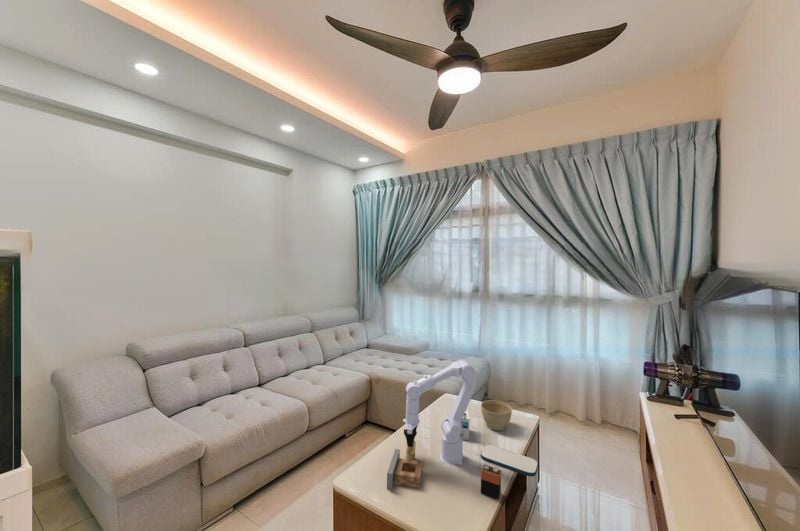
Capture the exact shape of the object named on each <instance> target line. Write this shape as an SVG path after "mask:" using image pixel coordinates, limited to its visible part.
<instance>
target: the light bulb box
mask: <svg viewBox="0 0 800 531" xmlns="http://www.w3.org/2000/svg"><path fill="white" fill-rule="evenodd" d="M470 420H471V419H470V410H469V409H466V411H465V413H464V416H463V418H462V420H461V431H460V439H461V440H465V441H470Z"/></svg>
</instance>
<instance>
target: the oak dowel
mask: <svg viewBox="0 0 800 531" xmlns="http://www.w3.org/2000/svg"><path fill="white" fill-rule="evenodd" d="M405 447H406V451H405V452H406V453H405V459H408V460H415V461H416V440H414V443H413V447H408V445H407V444H406V446H405Z"/></svg>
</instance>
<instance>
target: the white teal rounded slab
mask: <svg viewBox="0 0 800 531" xmlns="http://www.w3.org/2000/svg"><path fill="white" fill-rule="evenodd" d="M480 458H481V459H482V460H483V461H484V462H487V463H490V464H492V463H493V465H495V464H496V465H495V466H498V465H499V466H498V467H501V466H502V467H501V468H504V469H506V468H507V470H509V469H510V470H509V471H512V472H516V473H518V474H519V475H520V474H521V475H523V476H525V477H531V478H532V477H535V476H536V475H537V472H538V468H539V463H538V461H537V460H535V459H534V458H532V457H529V456H526V455H523V454H520V453H517V452H513V451H511V450H507V449H504V448H501V447H498V446H495V445H492V444H486V445H484V447H483V448H482V450H481V452H480Z"/></svg>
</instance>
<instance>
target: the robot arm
mask: <svg viewBox="0 0 800 531" xmlns="http://www.w3.org/2000/svg"><path fill="white" fill-rule="evenodd" d="M451 377H456V378H460V379H462V382H463V383H462V386H461V389H460V391H459V394H458V396H457V398H456V401H455V403H454V405H453V407H452V410H451V412H450V414H448V415H447V416H446V418H445V419H444V420H443V421H442V422H441V425H440V426H441V430H442V432H443V433H442V436H441V451H440V458H439V459H440V463H446V464H454V465H460V466H461V465H463V458H464V452H463V450H464V449H463V446H464V445H463V444H464V443H463V442H464V441H463V439H460V431H461V420H462V418H463V416H464V413H465V411H466V410H468V409H467V408H468V406H469V404H470V402H471V400H472V397H473V394H474V392H475V390H476V387H477V384H478V383H477V372H476V370H475V368H474V366H473V365H471V364H470V363H469V362H468V361H467V360H466V359H465V358H460V359H458V360H456V361H454V362H452V363H450V365H448V366H446V367H445V368H443V369H442V370H440V371H438V372H437V373H435V374H433V375H432V374H424V375H423V377H422V378H419V379H417V380H414V381H411V382H408V383H407V385H405V392H406V400H405V401H406V402H405V418H403V420H402V422H403V423H405V427H406V428H404V429H403V434H404V436H405V439H406V445H408V447H413V443H414V441H415V438H416V436H417V434H418V431H417V429H418V426H419V424H420V419H419V416H420V415H419V414H420V397H421V395H423V394H424V393H426V392H427V391H429V390H431V389H433V388H435V387H436V384H437V383H439V382H442V381H443V380H446V379H448V378H451Z"/></svg>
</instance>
